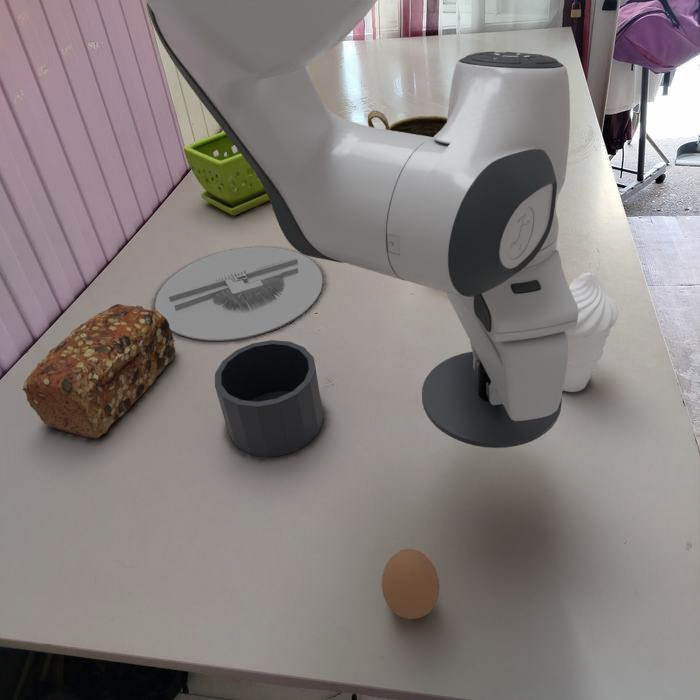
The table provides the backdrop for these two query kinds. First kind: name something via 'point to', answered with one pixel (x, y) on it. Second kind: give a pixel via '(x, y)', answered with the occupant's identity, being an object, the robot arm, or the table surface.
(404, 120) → the ceramic bowl
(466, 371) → the lid
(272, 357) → the pot
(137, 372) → the bread
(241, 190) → the flower pot
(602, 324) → the ice cream cone
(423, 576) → the egg
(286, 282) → the plate
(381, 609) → the table surface
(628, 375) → the table surface
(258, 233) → the table surface
